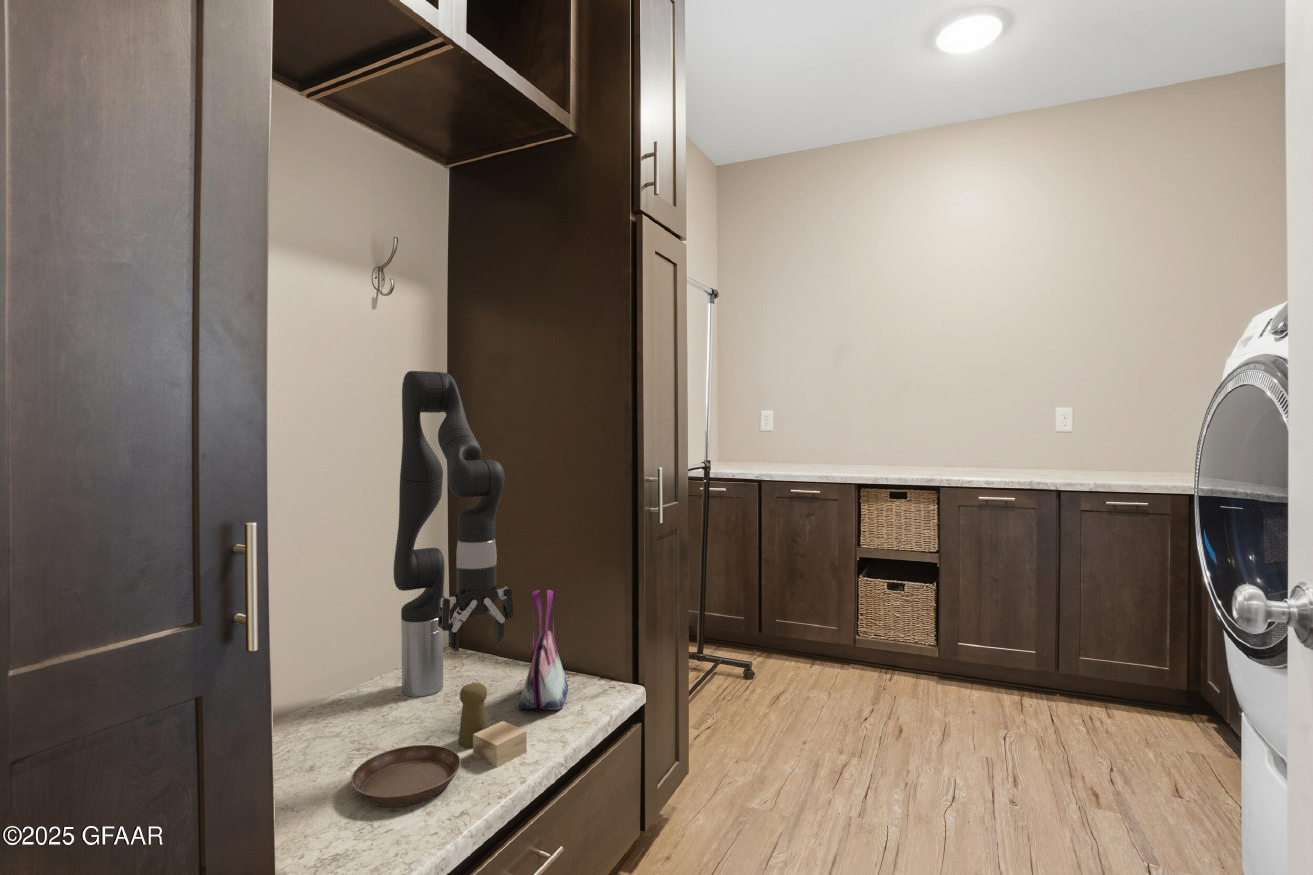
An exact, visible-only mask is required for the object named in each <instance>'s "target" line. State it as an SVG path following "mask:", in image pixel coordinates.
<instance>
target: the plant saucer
mask: <svg viewBox="0 0 1313 875" xmlns="http://www.w3.org/2000/svg"><path fill="white" fill-rule="evenodd" d="M461 761H462V760H461V757H460V754H458V752H456V751H454V750H453V749H451V748H448V747H445V746H441V745H435V744H433V745H432V744H417V745H407V746H402V747H396V748H393V749H389V750H387V751H384V752H382V753H381V752H380V753H379V754H377V755H374V756H372V757H370V758H369V759H367V760H365V761H364V762H363V763H361V764H360V765H359V766H358V767H357V768H356V769H354V772H353V773H352V774H351V778H350V782H351V783H350V784H351V786H352V788H353V789H354V791H355V792H356V793H357V794H358V795H359V796H361V797H362V798H363V799H364V800H365V801H366V802H368V803H370V804H373V805H376V806H380V807H393V808H395V807H405V806H409V805H414V804H417V803H421V802H424V801H427V800H428V799H430V798H432V797H434V796H437V795H438V794H439V793H440V792H442V791H444V789H445V788H446V787H447V786H449V784H450V783H451V782H452V781H453V779H454V777H455V776H456V775H457V773H458V771H459V769H460V767H461V765H462V764H461V763H462V762H461Z"/></svg>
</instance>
